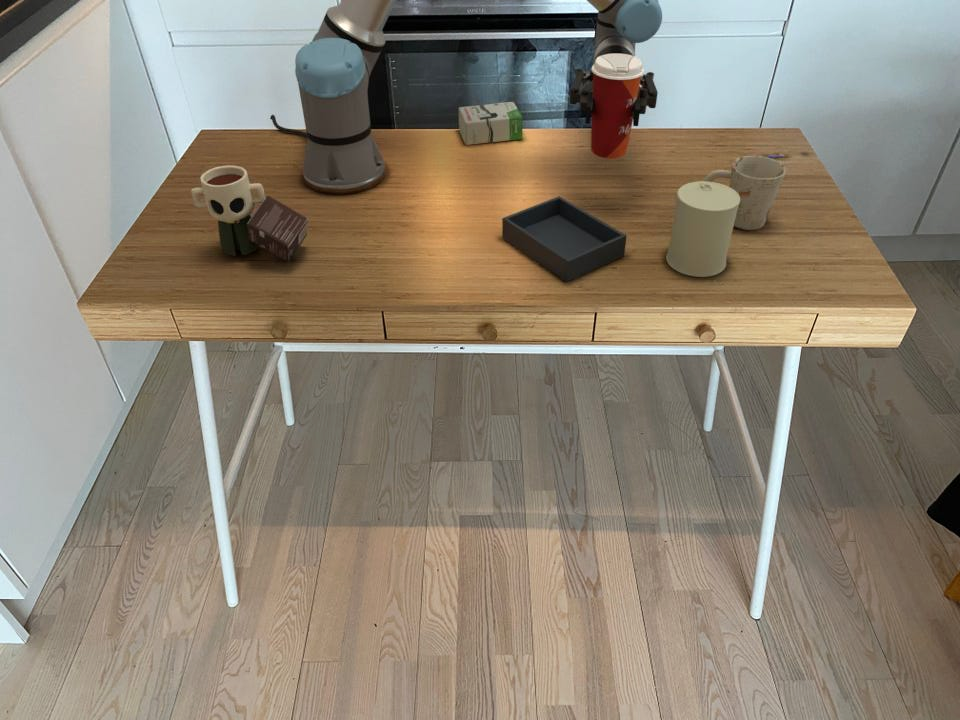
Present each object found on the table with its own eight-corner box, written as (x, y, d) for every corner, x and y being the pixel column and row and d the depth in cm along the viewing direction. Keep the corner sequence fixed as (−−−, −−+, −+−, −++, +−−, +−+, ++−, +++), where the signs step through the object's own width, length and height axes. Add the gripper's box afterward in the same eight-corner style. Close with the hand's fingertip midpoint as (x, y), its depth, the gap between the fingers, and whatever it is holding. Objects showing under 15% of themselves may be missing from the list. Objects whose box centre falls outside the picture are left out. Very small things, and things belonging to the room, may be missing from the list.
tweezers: (802, 151, 151) (801, 155, 151) (746, 155, 149) (745, 159, 149) (807, 152, 149) (807, 156, 150) (751, 156, 147) (750, 160, 148)
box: (289, 263, 124) (248, 240, 123) (308, 234, 126) (268, 211, 125) (289, 247, 118) (246, 223, 117) (309, 217, 120) (267, 194, 119)
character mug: (204, 263, 123) (183, 189, 115) (210, 239, 128) (190, 167, 120) (274, 257, 124) (258, 183, 116) (276, 234, 129) (261, 162, 121)
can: (719, 245, 125) (733, 178, 118) (731, 277, 118) (748, 207, 111) (662, 245, 126) (672, 177, 118) (671, 277, 119) (683, 207, 111)
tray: (502, 238, 128) (502, 218, 126) (558, 215, 133) (559, 195, 131) (566, 282, 118) (568, 261, 115) (624, 256, 123) (626, 235, 121)
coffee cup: (636, 161, 127) (649, 70, 118) (586, 161, 127) (595, 70, 118) (629, 139, 134) (641, 51, 124) (581, 139, 134) (589, 51, 124)
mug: (769, 237, 127) (784, 182, 121) (692, 225, 130) (702, 170, 124) (773, 213, 133) (787, 159, 127) (699, 202, 136) (709, 149, 130)
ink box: (523, 116, 154) (464, 123, 152) (523, 139, 157) (465, 146, 155) (513, 100, 160) (456, 106, 159) (513, 122, 163) (458, 129, 162)
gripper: (667, 88, 140) (672, 142, 123) (558, 84, 143) (548, 136, 125) (673, 46, 135) (680, 96, 118) (560, 42, 138) (550, 90, 120)
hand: (612, 116), depth 122 cm, fingers closed on coffee cup, 7 cm apart
